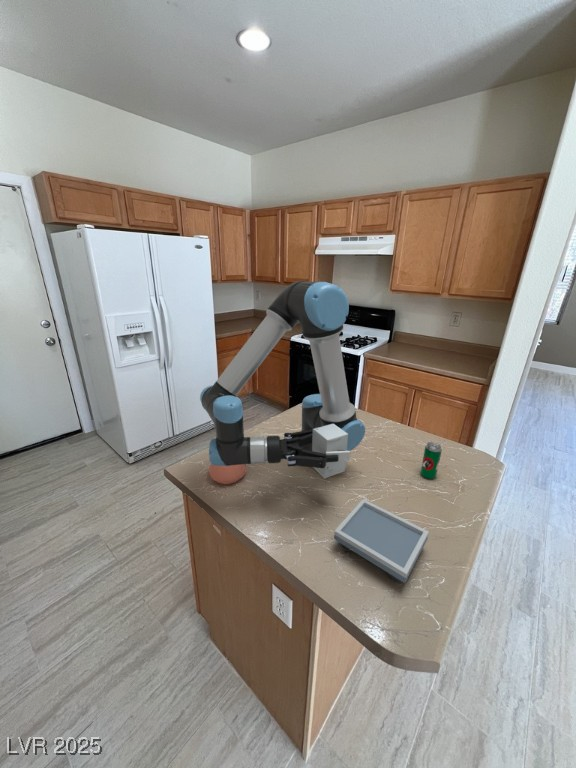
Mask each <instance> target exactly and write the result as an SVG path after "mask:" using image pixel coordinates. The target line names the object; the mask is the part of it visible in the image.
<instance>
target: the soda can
mask: <svg viewBox="0 0 576 768" xmlns="http://www.w3.org/2000/svg"><path fill="white" fill-rule="evenodd" d="M442 452H443V451H442V446H441V444H439V443H438V442H434V441H429V442H427V443H426V444H425V447H424V451H423V457H422V463H421V466H420V467H421V468H420V472H419V473H420V475H421V477H423V478H424V479H427V480H434V479H436V477H437V475H438V469H439V466H440V461H441V456H442V455H441V454H442Z"/></svg>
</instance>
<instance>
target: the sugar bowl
mask: <svg viewBox="0 0 576 768" xmlns="http://www.w3.org/2000/svg"><path fill="white" fill-rule="evenodd" d="M208 470H209V473H208V474H209V476H210V478H211V479H212V481H215V482H217V483H219V484H222V485H231V484H234V483H236V482H238V481H240V479H242V478H243V477H244V476H245V474H246V473H247V464H241V465H230V466H214V465H212V464H211V463H210V465H209V469H208Z"/></svg>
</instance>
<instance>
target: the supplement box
mask: <svg viewBox="0 0 576 768" xmlns="http://www.w3.org/2000/svg"><path fill="white" fill-rule="evenodd" d="M347 441H348V434H347V433H346V432H345V431H343V430H342V429H340V428H339V427H338V426H336V425H335V424H330V425H326V426H322V427H319V428H315V429H313V436H312V451H314V452H318V453H323V454H326V452H332V451H347ZM320 458H322V457H320ZM346 462H347V461H338V462H327V463H326V466H325V468H315V467H313V469H314V470H315V471H317V473H319V475H320V476H321V477H323V479H327V478H330V477H331V476H334V475H335V476H336V475H338V474H341V473H343V472H346V464H347V463H346ZM320 464H321V463H320Z"/></svg>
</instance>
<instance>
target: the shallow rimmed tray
mask: <svg viewBox="0 0 576 768" xmlns="http://www.w3.org/2000/svg"><path fill="white" fill-rule="evenodd" d="M429 534H430V531H429V530H427V529H424V528H422V527H421V526H418V525H416V524H415V523H413V522H411V521H410V520H409V521H408V520H406V519H405V518H403V517H400V516H399V515H397V514H394V513H392V512H390V511H388V510H386V509H385V508H382V507H380V506H378V505H376V504H374V503H373V502H370V501H368V500H366V499H364V498H362V499H361V500H360V501H359V502H358V504H357V505H356V506H355V507H354V508H353V509H352V511H351V512H350V513H349V514H348V515H347V516H346V517H345V519H344V520H343V521H342V522H341V523H340V524H339V525H338V526H337V528H335V530H334V533H333V535H334V536H333V540H335V541H336V542H338V543H339V544H340V547H341V548H342V549H343V550H344V551H346V552H349V551H350V550H351V551H353V552H354V553H356V554H357V555H359V556H361V557H362V558H364V559H365V560H367V561H368V562H370V563H372V564H373V565H375V566H377V567H378V568H380V569H382V570H383V571H384V572H386V573H388V575H389V577H390V579H391V580H392V581H393V582H395V583H398V584H401V583H404V584H406V582H407V580H408V578H409V576H410V574H411V572H412V570H413V568H414V566H415V564H416V562H417V561H418V558H419V556H420V554H421V552H423V549H424V547H425V545H426V543H427V541H428V538H429Z"/></svg>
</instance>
